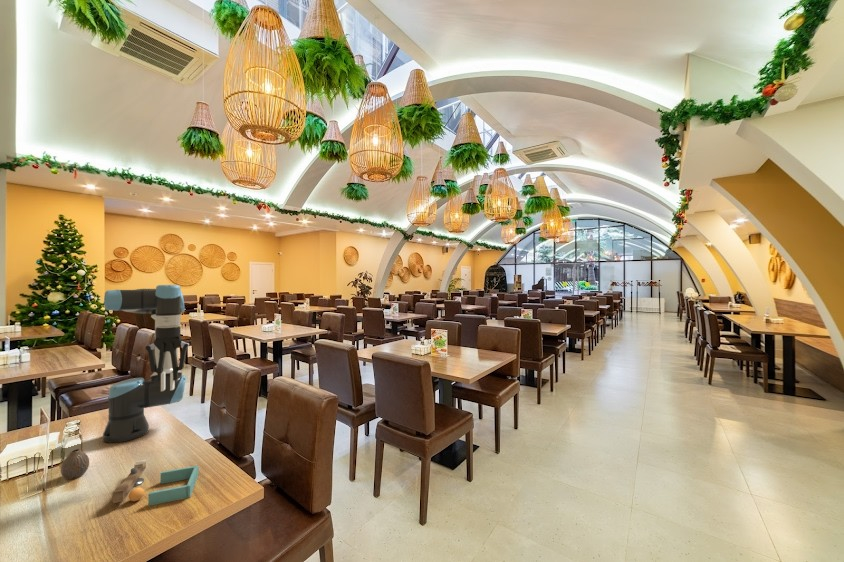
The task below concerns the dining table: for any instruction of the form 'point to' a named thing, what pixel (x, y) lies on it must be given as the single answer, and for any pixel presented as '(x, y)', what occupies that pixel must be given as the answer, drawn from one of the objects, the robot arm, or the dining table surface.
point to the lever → (129, 482)
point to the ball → (136, 494)
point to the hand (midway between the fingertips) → (167, 389)
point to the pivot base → (139, 482)
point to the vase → (75, 464)
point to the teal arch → (175, 492)
